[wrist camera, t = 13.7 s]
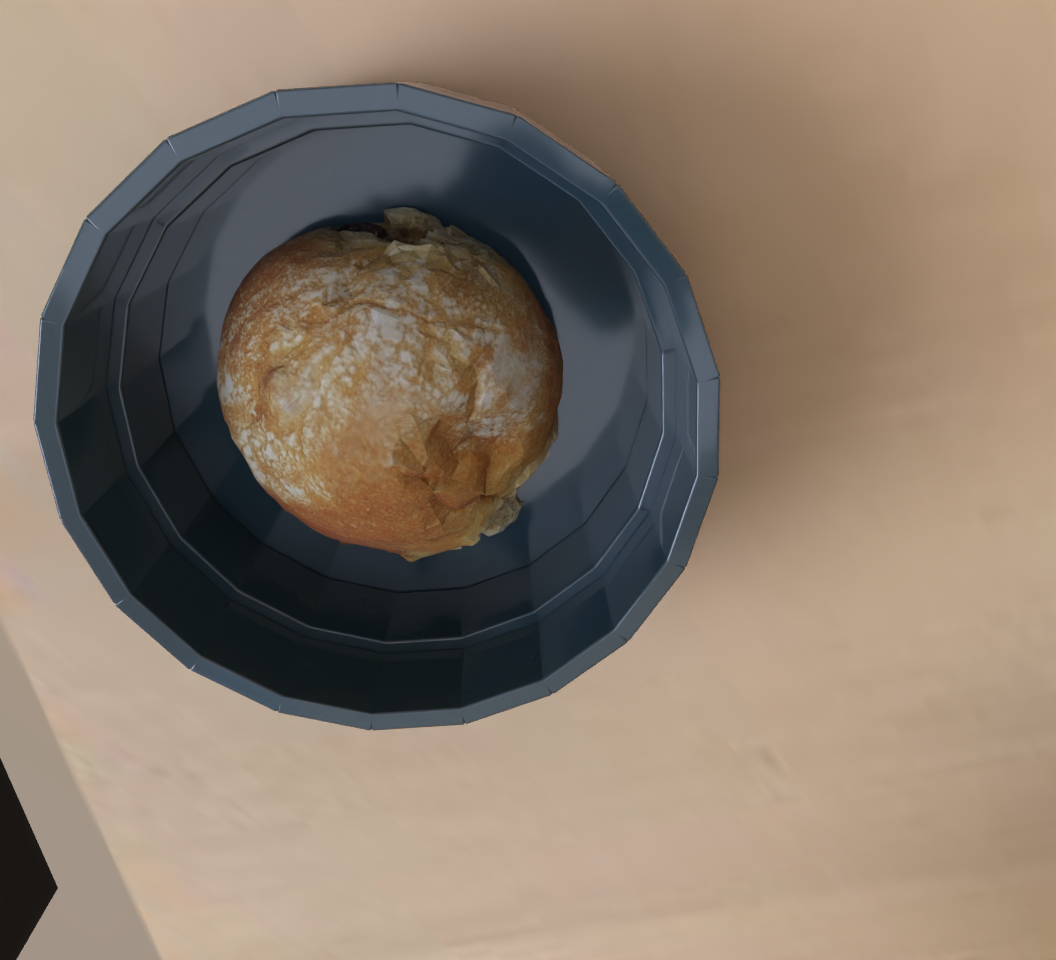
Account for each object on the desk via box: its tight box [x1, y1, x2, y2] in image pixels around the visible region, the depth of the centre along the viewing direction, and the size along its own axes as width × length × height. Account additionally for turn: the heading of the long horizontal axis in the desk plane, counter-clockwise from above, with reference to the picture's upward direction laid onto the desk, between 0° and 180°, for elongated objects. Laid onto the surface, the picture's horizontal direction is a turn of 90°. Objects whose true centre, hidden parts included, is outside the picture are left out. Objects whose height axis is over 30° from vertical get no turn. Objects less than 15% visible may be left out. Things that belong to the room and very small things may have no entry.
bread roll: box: [216, 207, 563, 562], centre depth 28 cm, size 10×10×8 cm
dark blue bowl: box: [34, 82, 720, 730], centre depth 28 cm, size 17×17×7 cm
